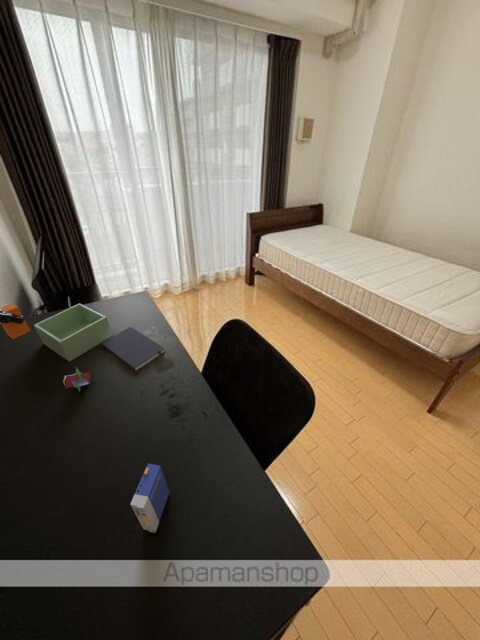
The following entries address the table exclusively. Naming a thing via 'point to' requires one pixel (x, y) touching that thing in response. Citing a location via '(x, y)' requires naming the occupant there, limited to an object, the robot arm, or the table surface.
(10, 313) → the robot arm
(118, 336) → the notebook
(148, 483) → the walkman
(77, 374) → the geometric puzzle
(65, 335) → the bin
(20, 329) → the block
